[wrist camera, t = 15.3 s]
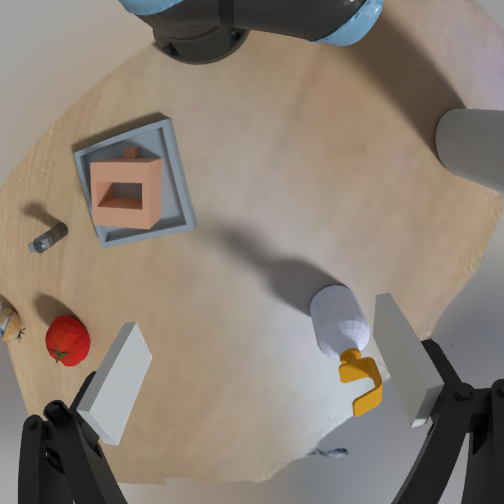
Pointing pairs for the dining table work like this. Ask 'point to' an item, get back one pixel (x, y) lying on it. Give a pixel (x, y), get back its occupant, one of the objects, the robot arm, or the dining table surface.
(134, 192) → the tray
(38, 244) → the grey t-shaped piece
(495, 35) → the dining table surface
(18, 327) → the onion
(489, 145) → the cylinder vase
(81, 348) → the tomato
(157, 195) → the ring frame
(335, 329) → the soap bottle
